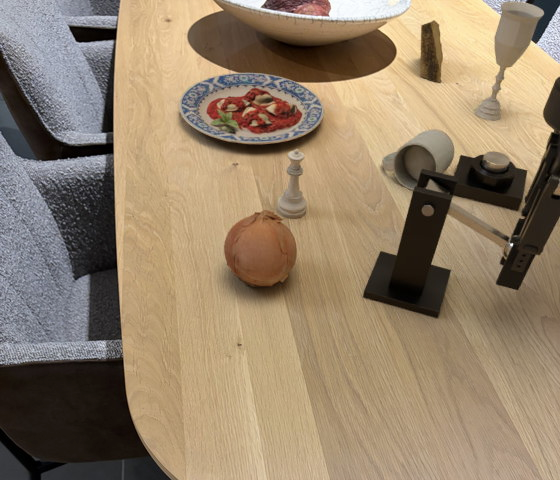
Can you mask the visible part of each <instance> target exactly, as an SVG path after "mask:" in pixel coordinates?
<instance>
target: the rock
mask: <svg viewBox="0 0 560 480" xmlns="http://www.w3.org/2000/svg"><path fill="white" fill-rule="evenodd" d="M440 30H441V29H440V23H438V22H437V21H436V20H431V21H430V22H427V23H424V24H421V25H420V76H421V77H422V78H425V79H427V80H429V81H432V82H438V83H439V84H440V83H441V82H442V64H443V61H444V54H443V48H442V47H443V46H442V42H441V31H440Z"/></svg>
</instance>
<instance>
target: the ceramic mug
mask: <svg viewBox="0 0 560 480" xmlns="http://www.w3.org/2000/svg"><path fill="white" fill-rule="evenodd" d="M454 157H455V145H454V143H453V140H452V139H451V137H450V136H449V135H448V134H447V133H446V132H444V131H442V130H440V129H437V128H434V129H433V128H431V129H426V130H424V131H422V132H420V133H418V134H417V135H415V136H414V137H413V138H412V139H409V140H408V141H406V142H405V143H404V144H402V145H401V146H400V147H399V148H398V149H397V150H396V151H394V152H393V151H392V152H391V153H389V154H387V155H385V156H384V157H382V159H381V163H382V169H383V170H384V171H387V172H393V174H394V176H395V179H396V180H397V181H398V182H399V184H401V186H403V187H404V188H406V189H408V190H411V191H413V190H414V187H415V186H417V183H418V179H419V176H420V172H421V170H422V169H425V170H430V171H434V172H438V173H442V174H445V172H446V171H447V170H448V169H449V168H450V167H451V164H452V162H453V160H454Z"/></svg>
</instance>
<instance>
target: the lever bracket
mask: <svg viewBox="0 0 560 480" xmlns="http://www.w3.org/2000/svg"><path fill="white" fill-rule="evenodd" d="M429 179H431V180H433V181H434V182H436V183H437V184H439V185H441V186H442V187H444V188H446V189H447V190H449V191H450V192H449V194H446V193H441V192H437V191H433V190H429V189H425V188H423V187H424V186H425V185H426V183H427V182H428V181H429ZM457 181H458V177H455V176H454V175H450V174H446V173H443V174H442V173H438V172H434V171H430V170H425V169H422V170H421V172H420V176H419V179H418V183H417V186H415V187H414V190H412V194H411V198H410V201H409V205H408V210H407V214H406V217H405V221H404V225H403V229H402V233H401V237H400V240H399V245H398V248H397V252H396V254H393V253H390V252H386V251H382V250H380V251H379V253H378V256H377V259H376V261H375V264H374V266H373V268H372V271H371V273H370V275H369V277H368V280H367V283H366V285H365V288H364V290H363V293H362V294H363V295H362V298H363V299H367V300H370V301H374V302H378V303H382V304H385V305H388V306H392V307H395V308H399V309H403V310H407V311H410V312H413V313H416V314H420V315H423V316H427V317H431V318H435V319H438V318H439V315H440V312H441V309H442V305H443V301H444V297H445V294H446V290H447V287H448V283H449V280H450V275H451V273H452V269H449V268H446V267H442V266H438V265H434V264H433V261H434V258H435V254H436V251H437V248H438V245H439V241H440V238H441V235H442V232H443V229H444V226H445V223H446V219H447V217H448V214H447V213H448V210H449V207H450V204H451V202H453V201H452V200H453V198H454V195H453V194H454V191H455V188H456V185H457Z"/></svg>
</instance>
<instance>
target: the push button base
mask: <svg viewBox="0 0 560 480" xmlns="http://www.w3.org/2000/svg"><path fill="white" fill-rule="evenodd" d="M484 155H485V154H479V155H477V156H475V157H472V156H468V155H463V154H460V156H459V158H458V162H457V164H456V168H455V171H454V174H453V176H455V177H458V181H457V185H456V188H455V191H454V194H453V197H457V198H462V199H466V200H470V201H475V202H479V203H482V204H487V205H491V206H495V207H499V208H504V209H508V210H512V211H515V212H518V211H519V210H520V206H521V205H522V202H523V199H524V195H525V194H524V193H525V188H526V183H527V182H526V181H527V176H528V170H527V169H524V168H519V167H517V166H516V165H515V164H514V163H513V162H512V161H511V160H510V162H509V165H508V167H507V170H506V172H505V173H504V174H493V173H489V172H487V171H485V170H483V169H482V168H481V163H482V160H483V157H484Z"/></svg>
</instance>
